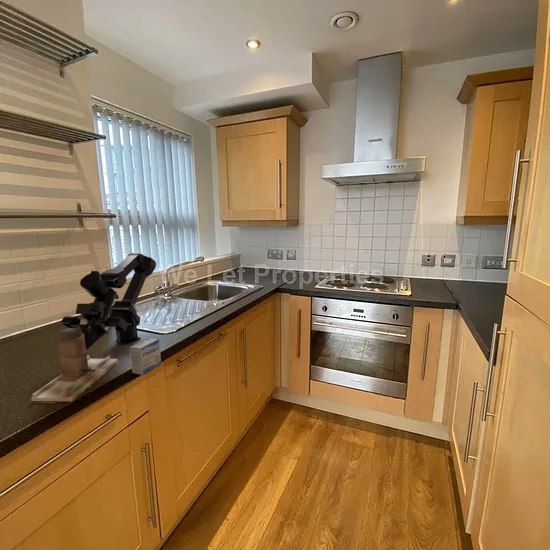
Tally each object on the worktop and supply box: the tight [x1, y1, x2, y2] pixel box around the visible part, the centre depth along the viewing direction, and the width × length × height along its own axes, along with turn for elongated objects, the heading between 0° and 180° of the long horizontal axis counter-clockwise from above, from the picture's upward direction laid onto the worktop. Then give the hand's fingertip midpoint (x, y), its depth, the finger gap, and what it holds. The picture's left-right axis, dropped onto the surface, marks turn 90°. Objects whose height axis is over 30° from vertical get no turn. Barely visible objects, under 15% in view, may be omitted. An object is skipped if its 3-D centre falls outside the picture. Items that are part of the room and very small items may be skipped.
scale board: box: [31, 355, 119, 402], centre depth 88 cm, size 22×10×2 cm, turn 178°
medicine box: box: [129, 337, 162, 376], centre depth 94 cm, size 8×4×9 cm, turn 158°
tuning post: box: [57, 328, 95, 381], centre depth 87 cm, size 6×8×14 cm
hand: (84, 349), depth 92 cm, fingers closed
